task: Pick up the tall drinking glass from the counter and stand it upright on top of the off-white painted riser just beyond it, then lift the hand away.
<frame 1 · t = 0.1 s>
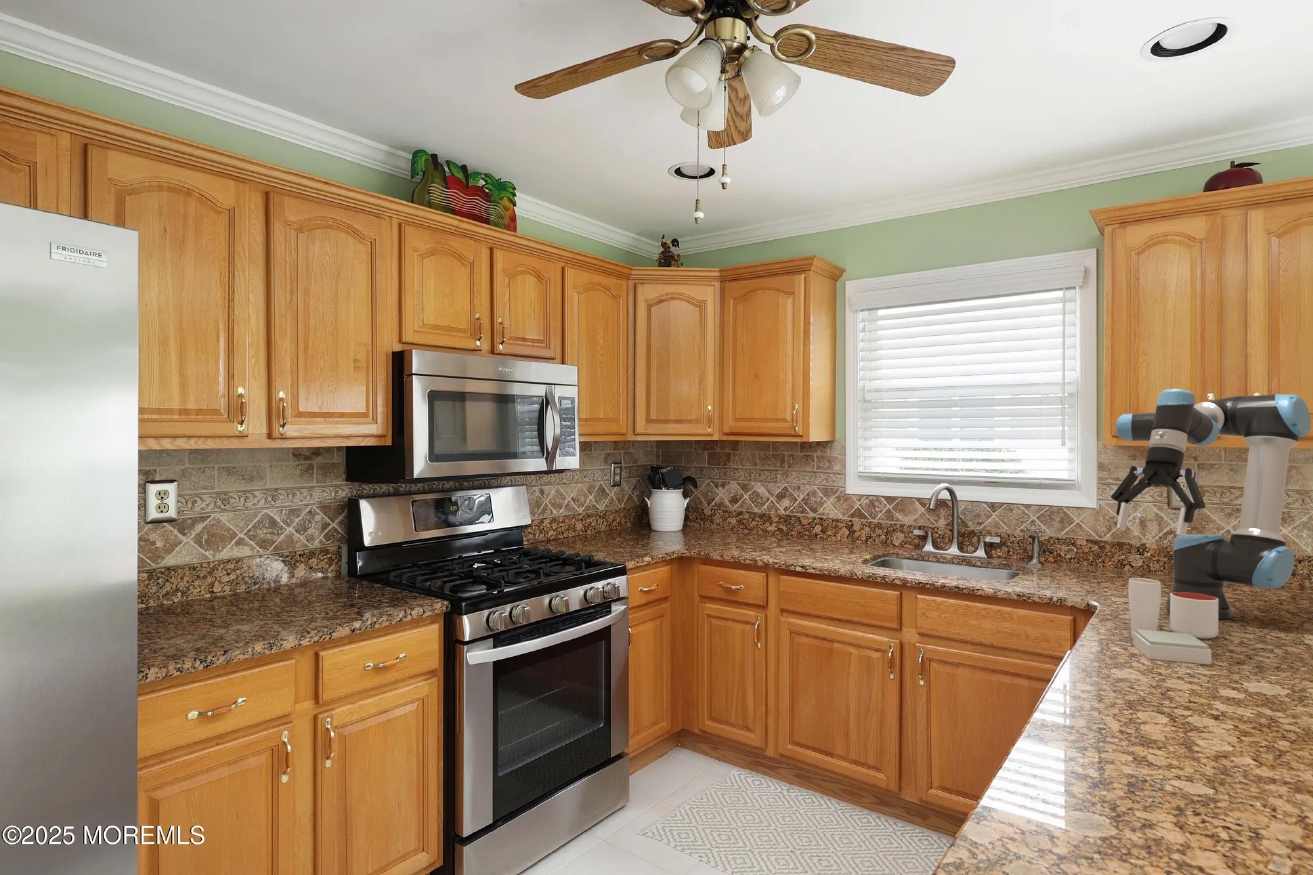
hand: (1149, 532, 175), 28 cm above the worktop, fingers open, 13 cm apart
cup: (1193, 635, 185), on the worktop
drinking glass: (1144, 640, 179), on the worktop
riser: (1170, 654, 167), on the worktop
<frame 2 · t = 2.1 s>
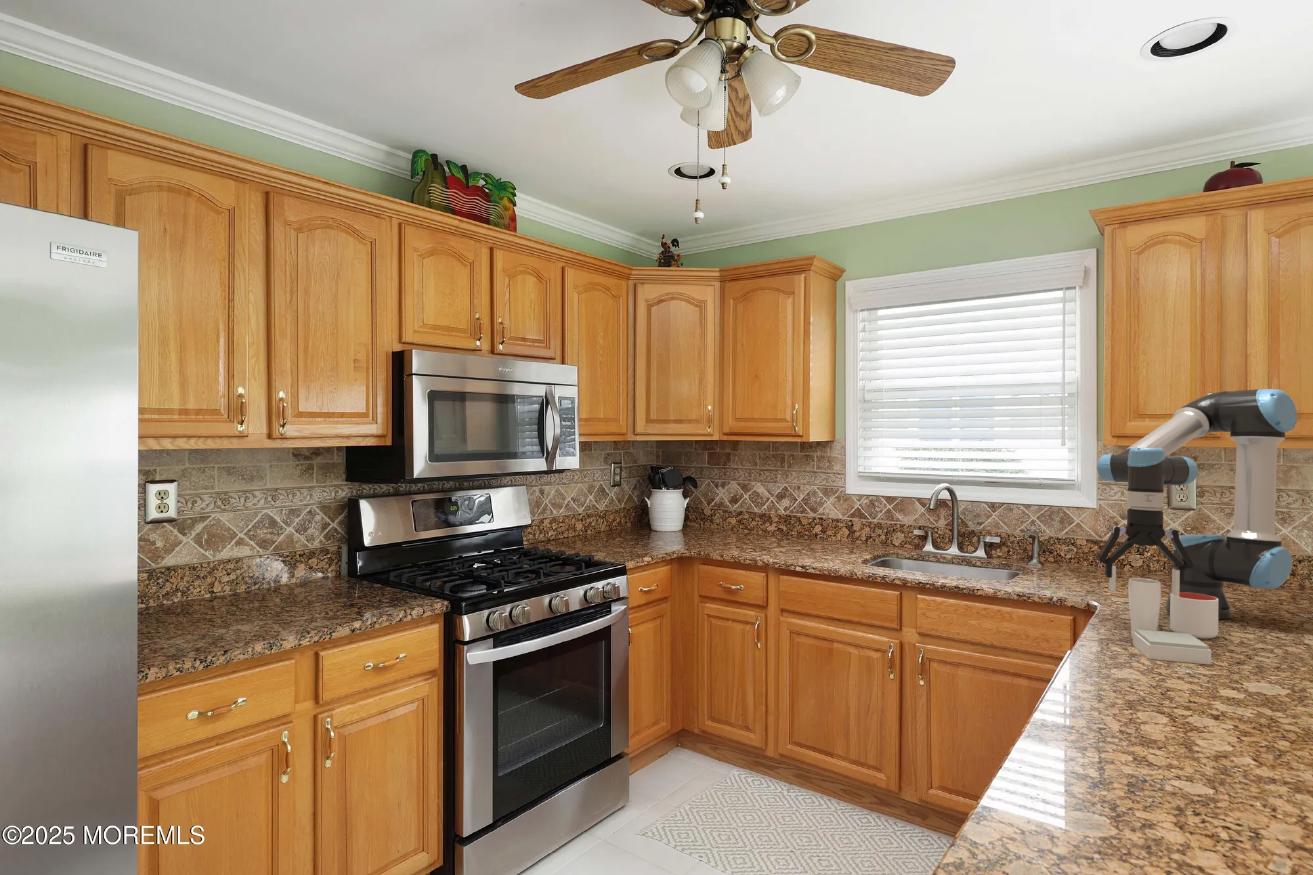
hand: (1143, 593, 179), 12 cm above the worktop, fingers open, 13 cm apart
nothing on the worktop moved.
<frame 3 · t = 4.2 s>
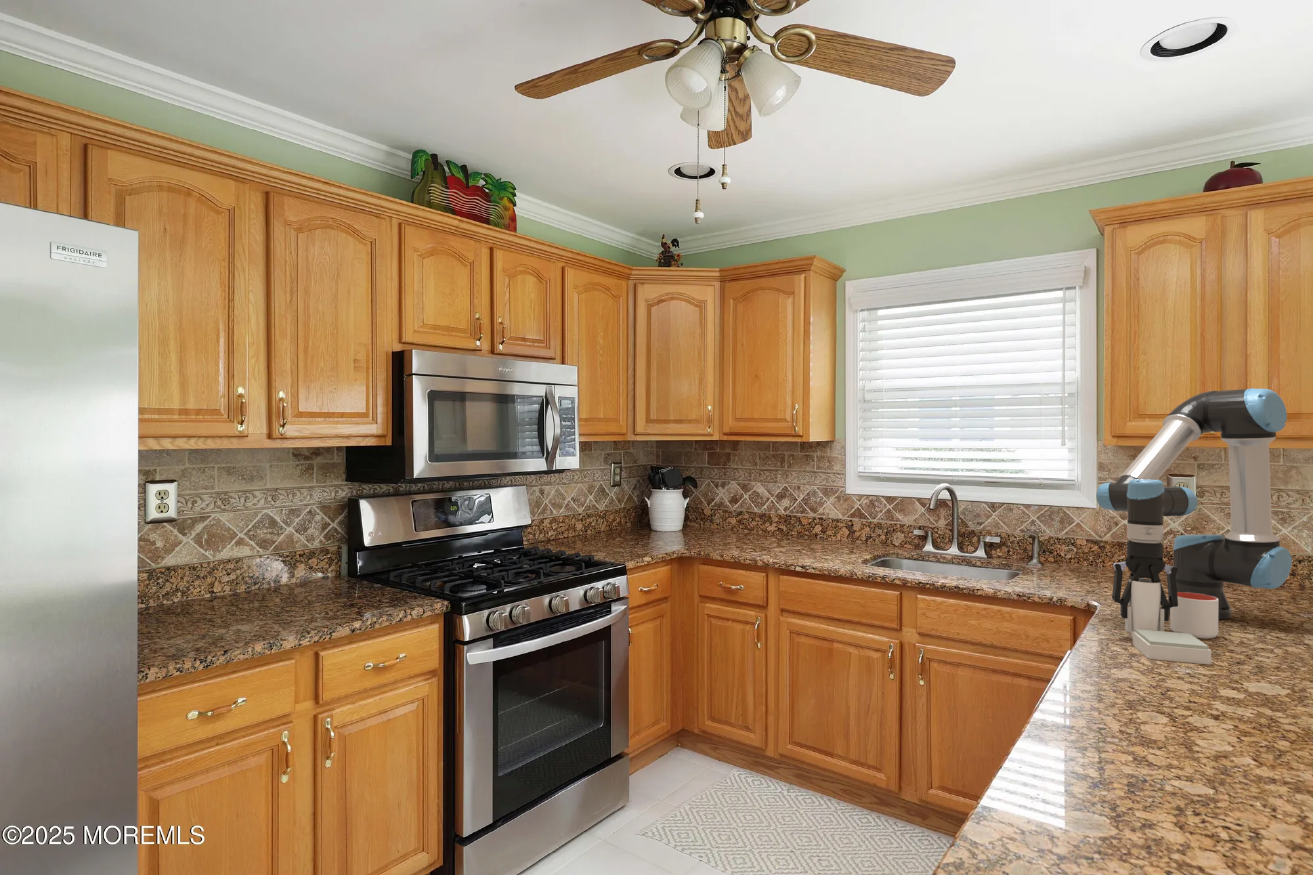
hand: (1144, 632, 179), 2 cm above the worktop, fingers closed on drinking glass, 6 cm apart
drinking glass: (1144, 640, 179), on the worktop, touching gripper
everything else where it was.
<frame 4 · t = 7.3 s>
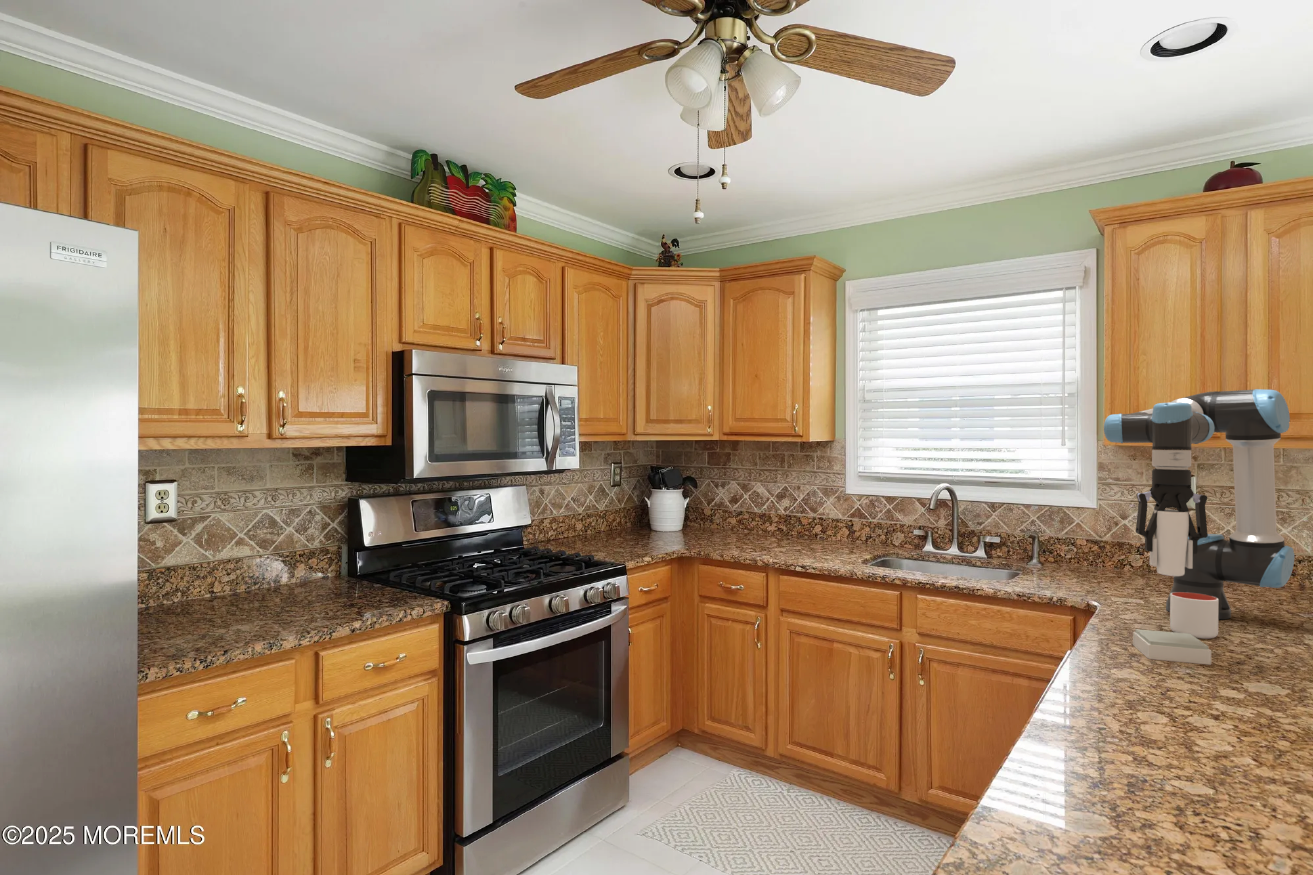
hand: (1170, 566, 168), 21 cm above the worktop, fingers closed on drinking glass, 6 cm apart
drinking glass: (1170, 575, 168), point 19 cm above the worktop, touching gripper
everything else where it was.
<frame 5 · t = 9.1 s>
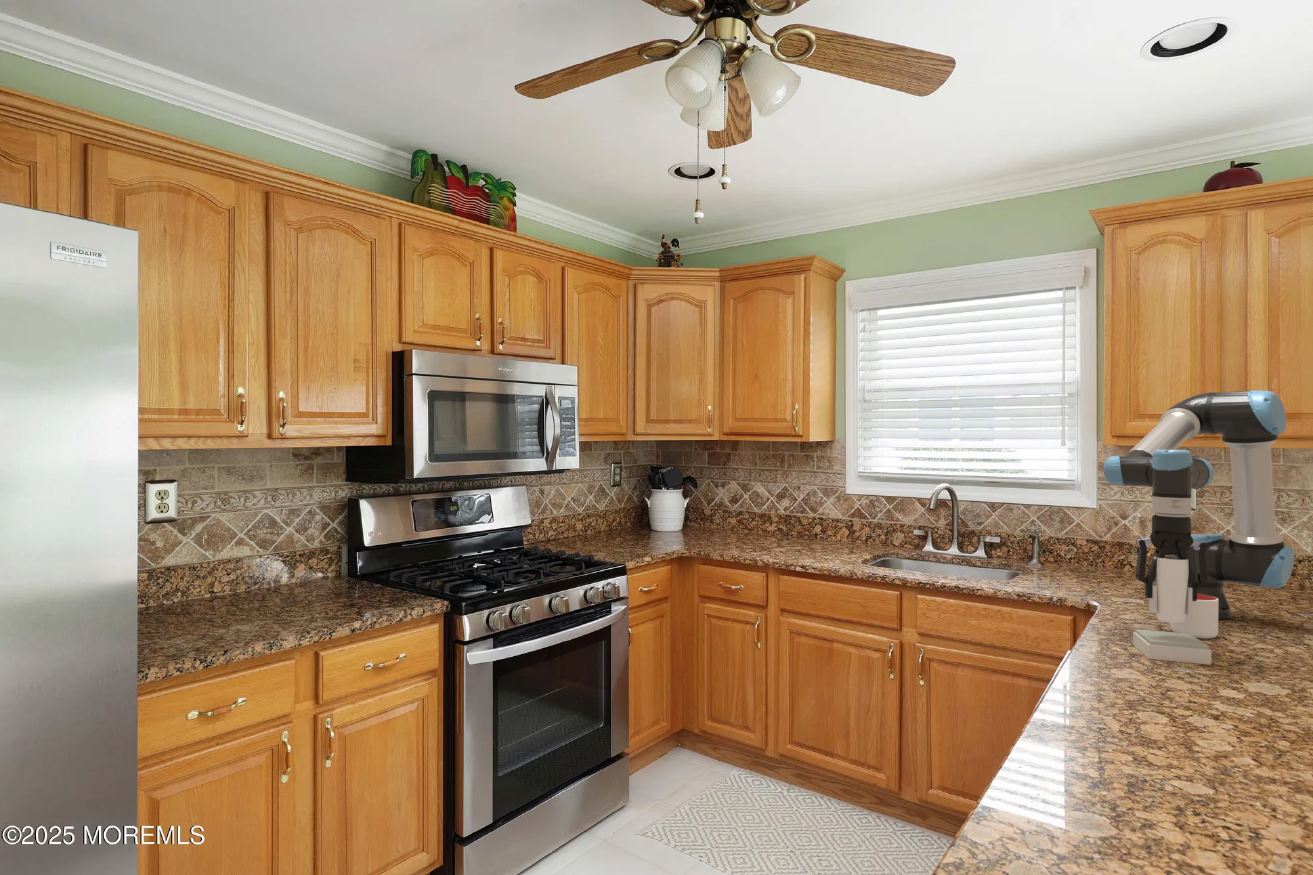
hand: (1170, 613, 167), 10 cm above the worktop, fingers closed on drinking glass, 6 cm apart
drinking glass: (1170, 622, 167), point 8 cm above the worktop, touching gripper
everything else where it was.
when the fingers open (7 cm above the worktop, at t = 10.4 s): drinking glass drops 1 cm, resting on riser.
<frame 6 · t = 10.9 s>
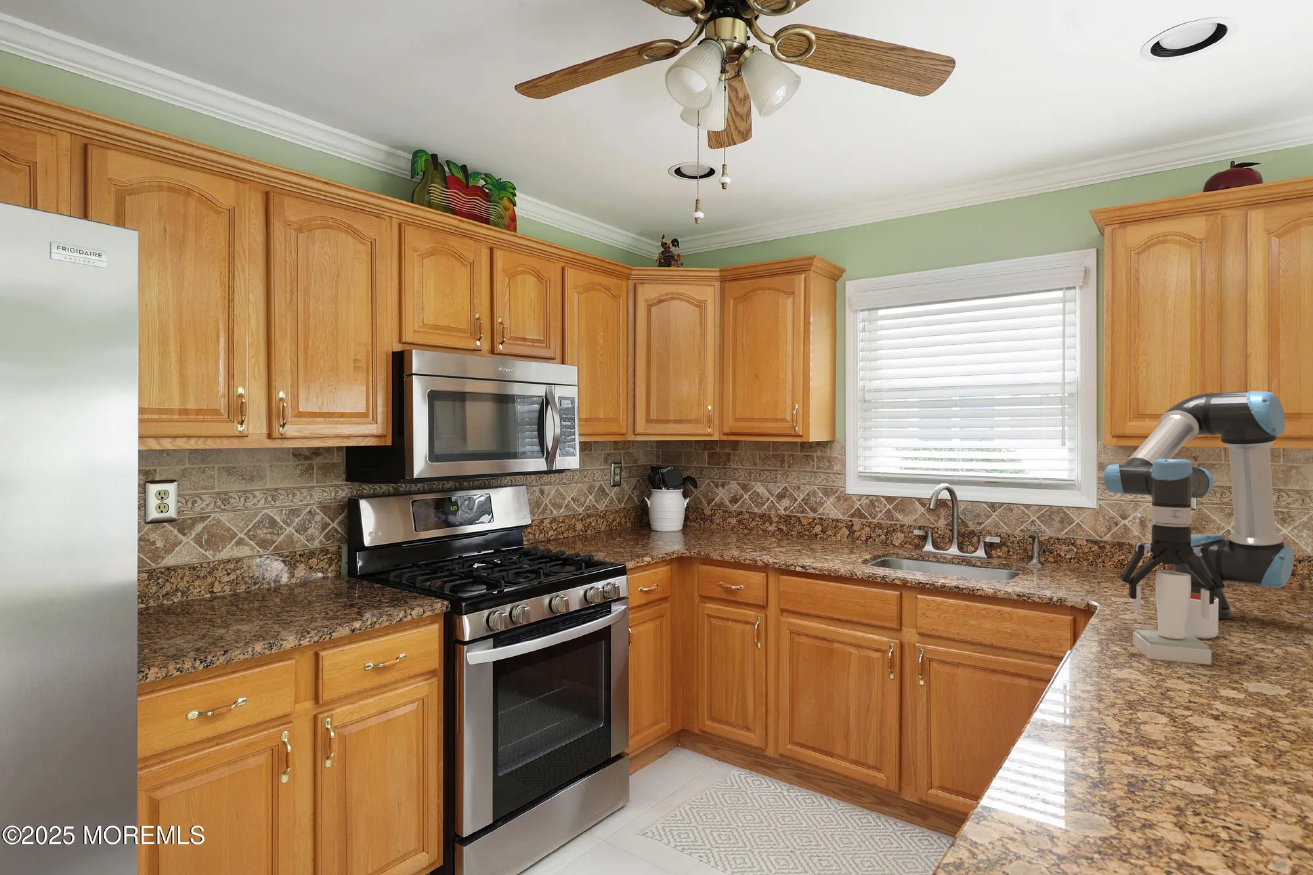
hand: (1170, 615, 167), 9 cm above the worktop, fingers open, 13 cm apart
drinking glass: (1171, 637, 167), point 4 cm above the worktop, touching riser
everything else where it was.
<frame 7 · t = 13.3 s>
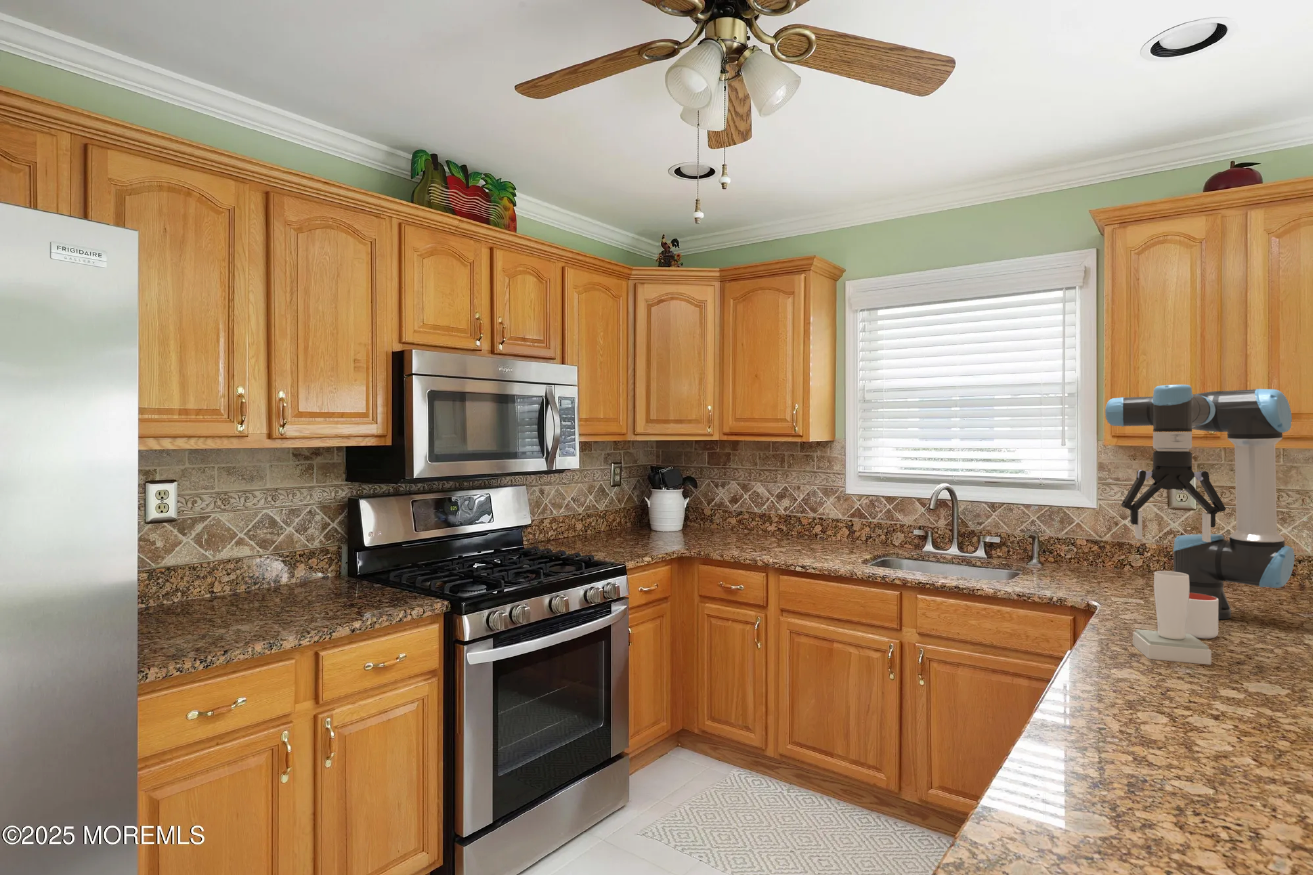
hand: (1172, 540, 169), 27 cm above the worktop, fingers open, 13 cm apart
nothing on the worktop moved.
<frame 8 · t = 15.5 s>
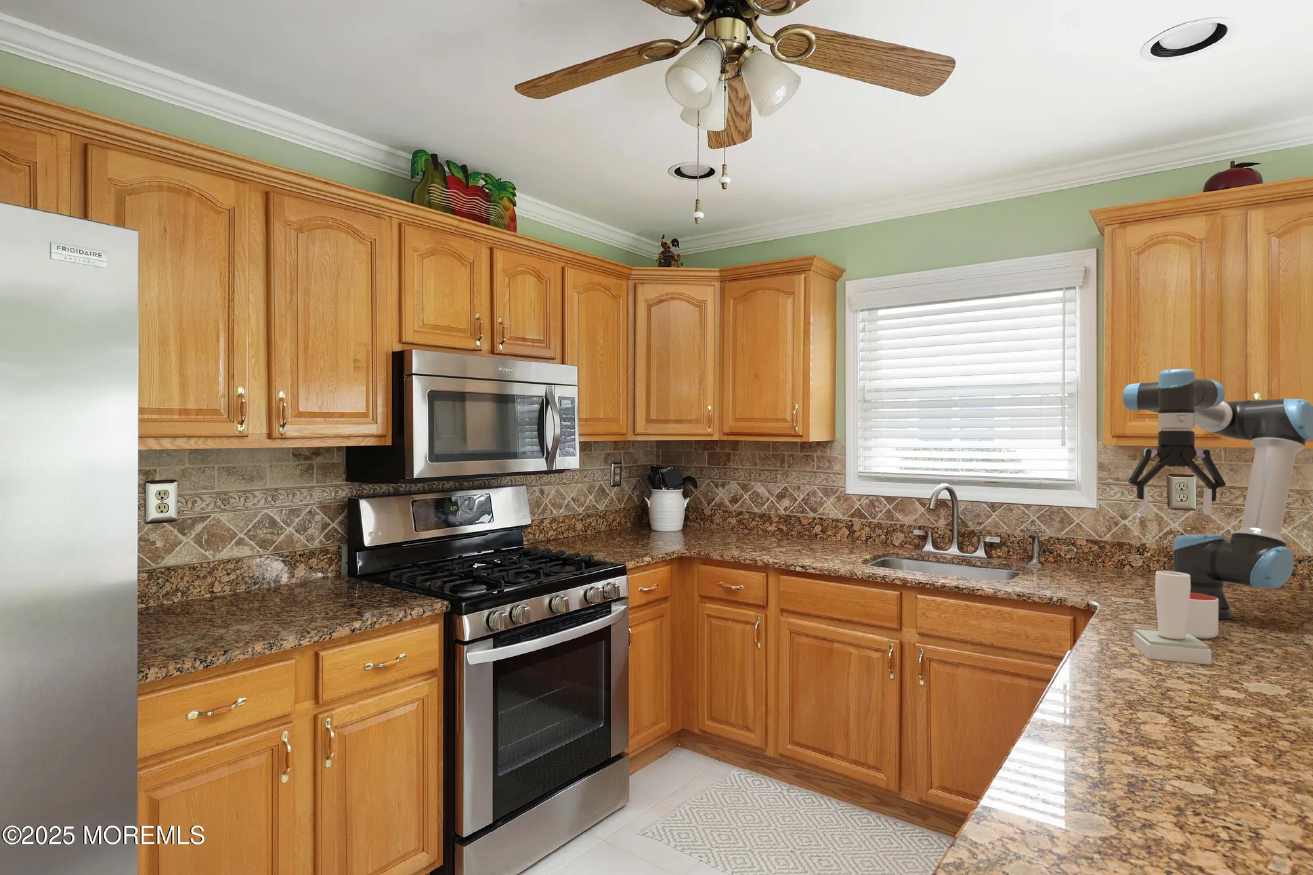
hand: (1175, 513, 182), 32 cm above the worktop, fingers open, 13 cm apart
nothing on the worktop moved.
at the end: drinking glass inside the target area on the riser (0.2 cm from its centre), point 3.9 cm above the riser's base; drinking glass tilted 1°; the gripper is holding nothing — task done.
